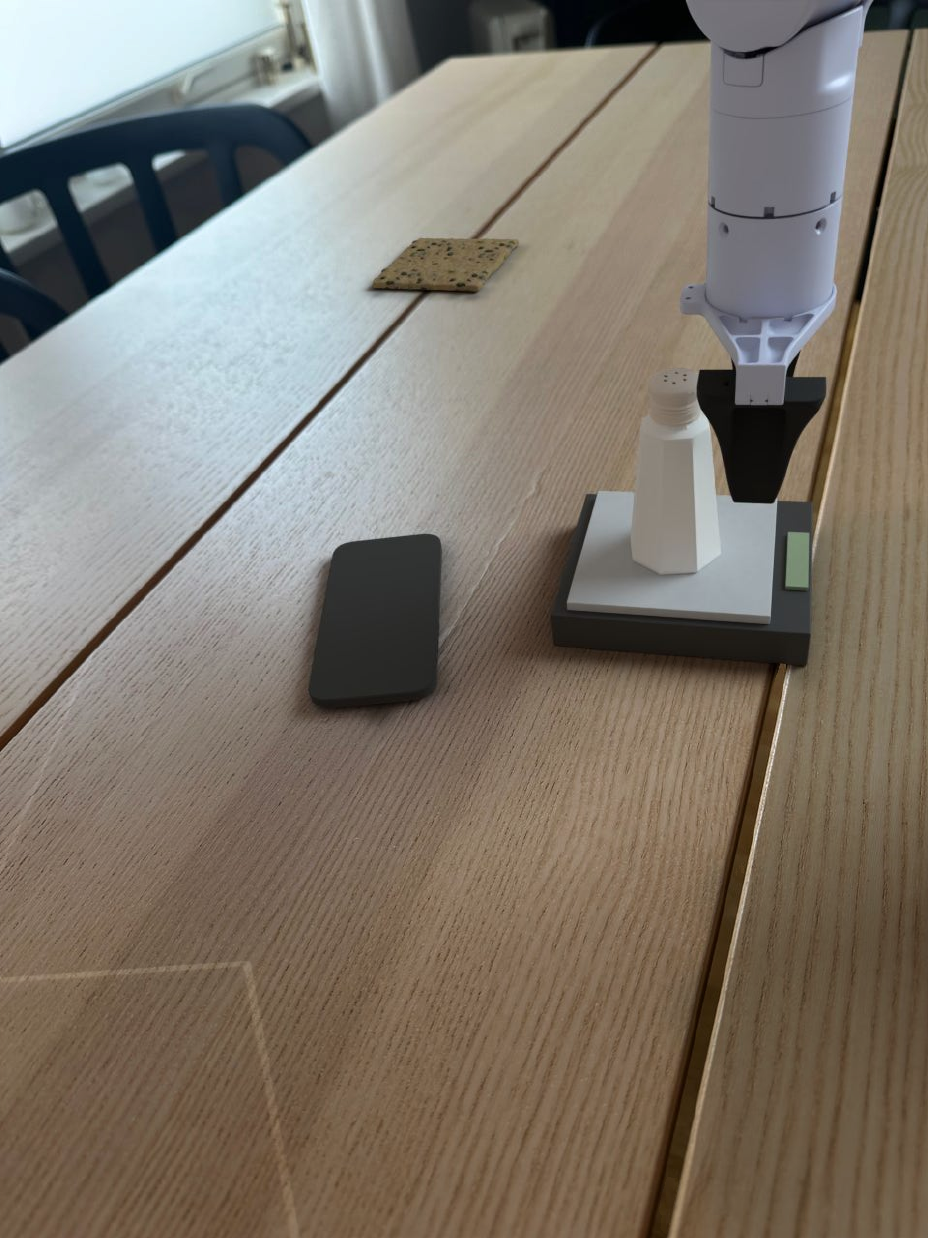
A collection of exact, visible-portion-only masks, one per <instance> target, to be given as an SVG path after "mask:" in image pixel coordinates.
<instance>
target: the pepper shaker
mask: <svg viewBox="0 0 928 1238" xmlns="http://www.w3.org/2000/svg"><path fill="white" fill-rule="evenodd" d="M698 375H699V372H697V371H696V370H693V369H691V368H685V367H670V368H665V369H661V370H659V371H657V372H655V373H654V374H652V375H651V376H650V377H649V379H648V381H647V390H648V393H649V396H648V400H649V401H648V404H649V405H648V407H649V409H650V411H649V413H648V414H647V415H645V416H643V417H642V418H641V422H640V429H639V440H638V450H637V460H636V461H637V462H636V473H635V482H634V492H635V493H634V505H633V516H632V527H631V548H632V559H633V560H634V561H635V562H637V563H639V564H641V565H643V566H645V567H647V568H648V569H650V570H652V571H654V572H656V573H658V574H660V575H667V574H683V573H697V572H698V571H699V570H701V569H702V568H703V567H705V566H706V565H707V564H709V563H710V562H711V561H713V560H714V559H715V558H717V557H718V556H719V555H720V554H721V547H720V536H719V524H718V512H717V501H716V495H717V489H716V480H715V479H716V477H715V466H714V455H713V445H712V434H711V428H710V426H711V425H710V422H709V421H708V419H707V418H706V416H705V415H704V413H703V412H702V411H701V409H700V406H699V403H698V400H697V396H696V388H697V381H698Z"/></svg>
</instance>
